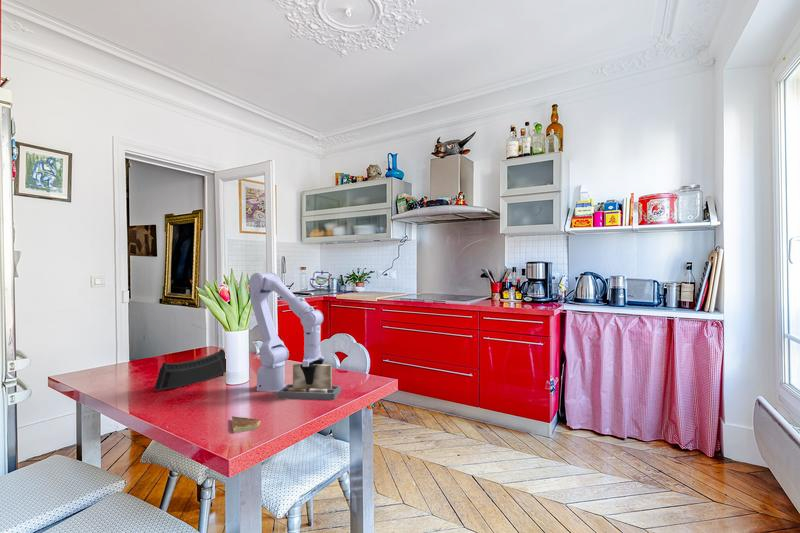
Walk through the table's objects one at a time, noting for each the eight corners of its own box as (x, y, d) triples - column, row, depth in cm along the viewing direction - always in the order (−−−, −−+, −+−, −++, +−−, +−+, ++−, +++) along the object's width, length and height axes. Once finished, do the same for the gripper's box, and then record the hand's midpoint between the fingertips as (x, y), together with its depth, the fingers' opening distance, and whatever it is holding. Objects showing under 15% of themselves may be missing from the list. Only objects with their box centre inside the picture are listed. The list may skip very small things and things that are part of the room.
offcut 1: (288, 396, 133) (288, 389, 133) (290, 394, 135) (290, 387, 135) (304, 397, 133) (304, 389, 133) (306, 395, 135) (306, 388, 135)
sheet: (292, 392, 138) (292, 364, 138) (294, 391, 139) (294, 363, 139) (330, 393, 136) (330, 365, 136) (331, 392, 138) (331, 364, 138)
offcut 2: (308, 397, 133) (308, 390, 133) (310, 395, 135) (310, 388, 135) (325, 397, 132) (325, 390, 132) (327, 395, 134) (327, 388, 134)
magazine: (152, 370, 137) (224, 334, 162) (147, 369, 138) (219, 333, 163) (166, 411, 141) (234, 370, 166) (161, 410, 143) (229, 369, 168)
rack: (277, 399, 132) (277, 392, 132) (288, 390, 142) (288, 383, 142) (333, 401, 130) (333, 394, 130) (341, 392, 140) (341, 385, 140)
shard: (231, 421, 114) (231, 415, 114) (258, 417, 118) (258, 411, 118) (232, 435, 105) (232, 428, 105) (261, 430, 108) (261, 424, 108)
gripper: (316, 348, 130) (316, 388, 130) (329, 340, 145) (329, 376, 145) (296, 348, 131) (296, 387, 131) (310, 340, 146) (310, 376, 145)
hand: (312, 381), depth 138 cm, fingers open, 5 cm apart
